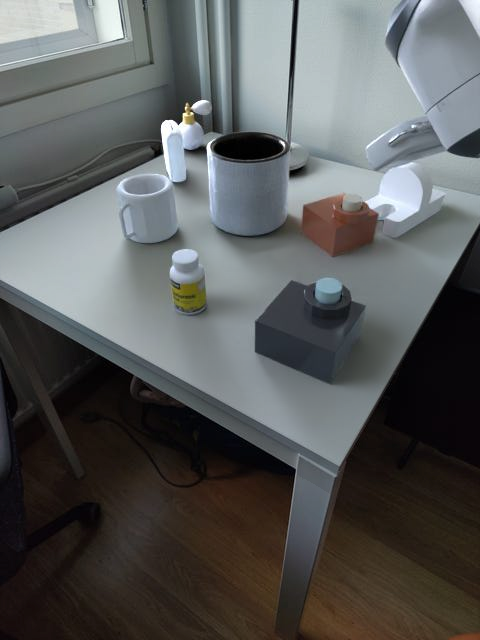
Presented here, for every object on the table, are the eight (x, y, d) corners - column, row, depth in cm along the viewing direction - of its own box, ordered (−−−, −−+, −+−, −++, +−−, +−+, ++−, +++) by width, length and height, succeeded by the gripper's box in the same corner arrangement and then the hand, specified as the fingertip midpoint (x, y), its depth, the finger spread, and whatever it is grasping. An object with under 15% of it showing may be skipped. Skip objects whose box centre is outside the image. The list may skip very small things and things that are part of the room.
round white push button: (364, 209, 84) (366, 199, 82) (350, 214, 83) (351, 204, 81) (352, 202, 86) (353, 192, 85) (338, 206, 85) (339, 196, 83)
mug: (146, 213, 100) (139, 168, 93) (188, 224, 96) (183, 178, 89) (105, 243, 91) (93, 196, 84) (149, 257, 87) (140, 208, 80)
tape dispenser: (354, 221, 96) (363, 171, 89) (403, 194, 105) (414, 146, 97) (394, 239, 90) (406, 187, 83) (442, 208, 99) (457, 159, 92)
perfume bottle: (172, 146, 128) (167, 100, 120) (203, 139, 132) (199, 94, 124) (185, 155, 123) (181, 108, 115) (216, 147, 127) (214, 101, 119)
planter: (303, 221, 96) (309, 147, 86) (241, 248, 89) (240, 170, 78) (254, 194, 106) (255, 124, 95) (196, 216, 98) (189, 143, 88)
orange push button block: (376, 244, 89) (384, 206, 84) (335, 259, 85) (341, 221, 80) (340, 220, 96) (345, 184, 91) (300, 233, 93) (303, 196, 87)
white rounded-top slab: (164, 166, 118) (158, 116, 110) (181, 164, 119) (176, 114, 111) (170, 183, 110) (164, 131, 102) (188, 181, 111) (183, 129, 103)
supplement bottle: (168, 311, 75) (160, 261, 68) (183, 292, 79) (177, 243, 72) (198, 319, 73) (193, 269, 67) (212, 299, 77) (208, 249, 71)
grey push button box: (361, 334, 70) (370, 293, 65) (330, 384, 63) (337, 342, 58) (290, 308, 75) (293, 268, 70) (254, 352, 68) (254, 310, 62)
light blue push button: (344, 293, 66) (346, 282, 64) (334, 307, 63) (336, 296, 62) (321, 286, 67) (322, 274, 66) (310, 299, 65) (311, 287, 63)
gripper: (417, 153, 55) (352, 196, 68) (528, 121, 63) (450, 166, 76) (398, 104, 55) (337, 156, 68) (511, 78, 63) (436, 130, 76)
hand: (397, 161), depth 72 cm, fingers closed
